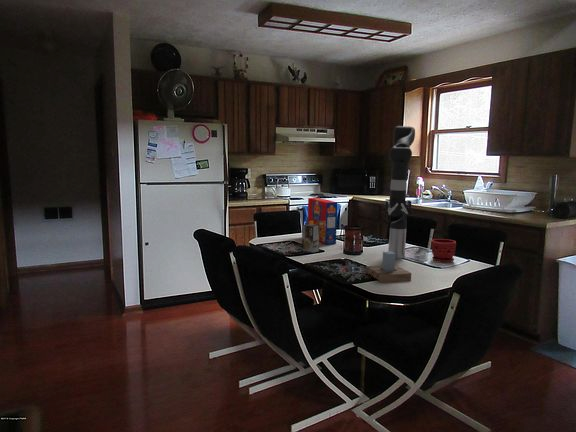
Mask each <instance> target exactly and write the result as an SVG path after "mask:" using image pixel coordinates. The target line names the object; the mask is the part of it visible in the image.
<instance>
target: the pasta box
mask: <svg viewBox="0 0 576 432" xmlns="http://www.w3.org/2000/svg"><path fill="white" fill-rule="evenodd" d="M337 220H338V202H337V201H333V200H330V199H326V198H323V197H322V198H320V197H308V198H307V224H313V225H319V244H321V245H324V246H329V245H330V246H331V245H337V229H338V228H337V226H338V223H337Z"/></svg>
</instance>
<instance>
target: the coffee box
mask: <svg viewBox="0 0 576 432" xmlns="http://www.w3.org/2000/svg"><path fill="white" fill-rule="evenodd" d="M301 251H303V252H308V253H317V252H319V251H320V242H319V225H313V224H308V223H306V224H302V225H301Z"/></svg>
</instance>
